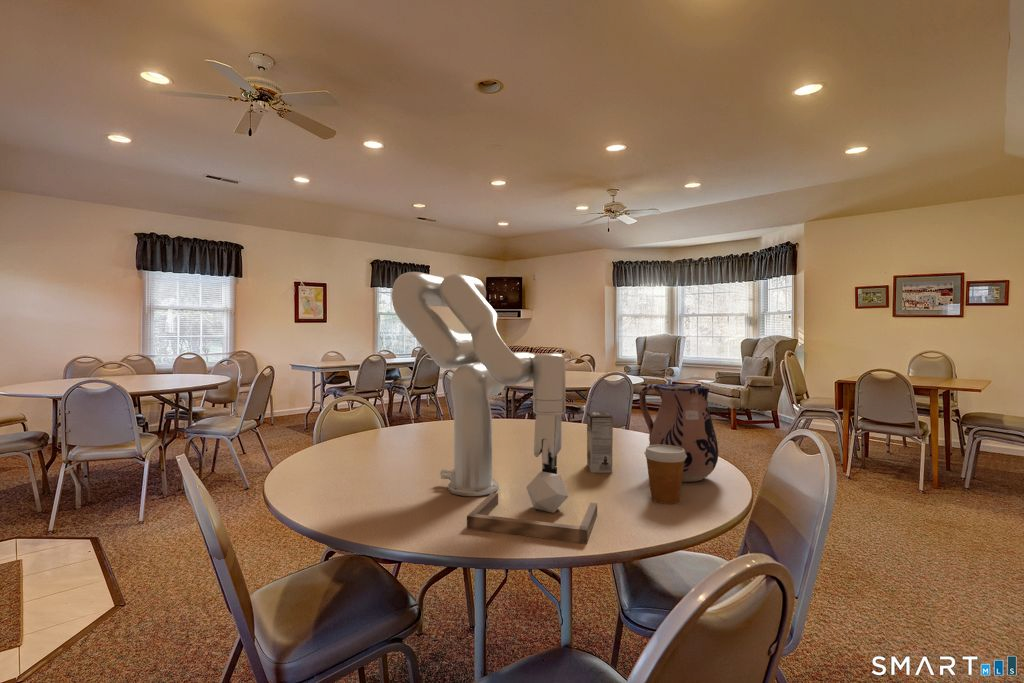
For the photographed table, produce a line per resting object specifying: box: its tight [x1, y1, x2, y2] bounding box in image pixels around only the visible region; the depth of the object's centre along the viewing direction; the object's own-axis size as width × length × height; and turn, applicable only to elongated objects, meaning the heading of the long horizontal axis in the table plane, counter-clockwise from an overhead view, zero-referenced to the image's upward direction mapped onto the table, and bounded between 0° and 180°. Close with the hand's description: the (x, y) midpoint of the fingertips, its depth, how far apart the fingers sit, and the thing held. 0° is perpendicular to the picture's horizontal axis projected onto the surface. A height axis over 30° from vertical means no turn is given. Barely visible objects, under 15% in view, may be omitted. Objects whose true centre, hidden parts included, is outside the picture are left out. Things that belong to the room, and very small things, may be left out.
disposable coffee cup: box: [644, 445, 687, 505], centre depth 114 cm, size 10×10×12 cm
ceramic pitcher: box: [638, 383, 719, 483], centre depth 132 cm, size 18×21×25 cm
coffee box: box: [586, 410, 614, 474], centre depth 140 cm, size 9×6×16 cm
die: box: [525, 470, 569, 514], centre depth 108 cm, size 8×9×10 cm
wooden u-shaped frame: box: [466, 492, 598, 545], centre depth 101 cm, size 24×15×2 cm, turn 73°
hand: (549, 484), depth 113 cm, fingers closed
